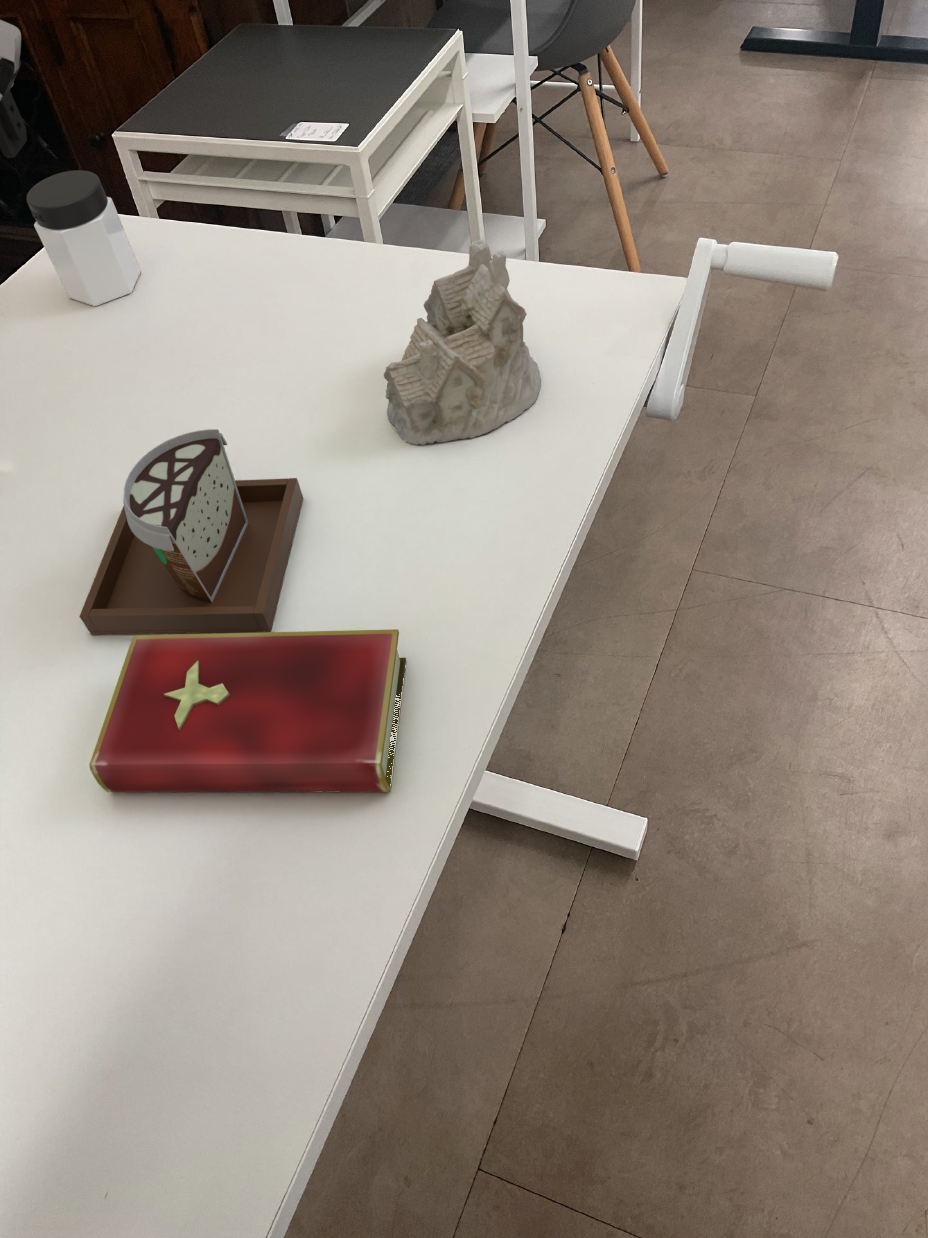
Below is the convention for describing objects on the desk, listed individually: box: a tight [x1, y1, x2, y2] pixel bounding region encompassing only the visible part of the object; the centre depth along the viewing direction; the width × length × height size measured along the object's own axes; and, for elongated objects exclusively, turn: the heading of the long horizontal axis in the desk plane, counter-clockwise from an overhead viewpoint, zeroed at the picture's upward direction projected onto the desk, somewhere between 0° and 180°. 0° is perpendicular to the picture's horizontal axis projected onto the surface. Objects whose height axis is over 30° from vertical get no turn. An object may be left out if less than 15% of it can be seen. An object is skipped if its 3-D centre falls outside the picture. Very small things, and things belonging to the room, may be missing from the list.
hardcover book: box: [89, 628, 407, 793], centre depth 75 cm, size 12×21×4 cm, turn 86°
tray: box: [79, 477, 304, 636], centre depth 87 cm, size 16×16×2 cm
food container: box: [122, 428, 248, 603], centre depth 84 cm, size 12×6×10 cm, turn 168°
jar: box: [26, 169, 142, 307], centre depth 115 cm, size 9×8×12 cm
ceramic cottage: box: [383, 238, 542, 446], centre depth 94 cm, size 16×16×15 cm
